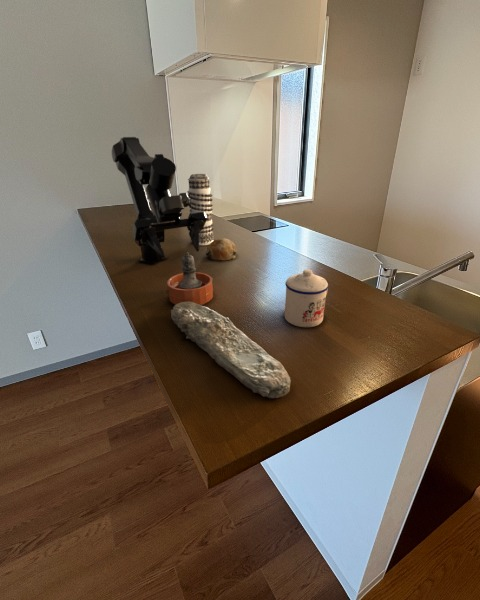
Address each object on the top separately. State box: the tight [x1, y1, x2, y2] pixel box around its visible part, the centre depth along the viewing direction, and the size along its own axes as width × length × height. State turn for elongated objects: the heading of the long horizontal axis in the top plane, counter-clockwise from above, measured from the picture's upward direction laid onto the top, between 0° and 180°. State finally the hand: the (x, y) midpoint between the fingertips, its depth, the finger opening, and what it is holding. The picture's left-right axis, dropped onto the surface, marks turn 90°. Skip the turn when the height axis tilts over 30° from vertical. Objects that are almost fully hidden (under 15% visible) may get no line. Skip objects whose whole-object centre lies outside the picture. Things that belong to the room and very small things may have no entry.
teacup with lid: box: [284, 268, 329, 328], centre depth 71 cm, size 12×9×12 cm
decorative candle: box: [186, 173, 215, 246], centre depth 120 cm, size 9×9×25 cm
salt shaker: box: [178, 251, 202, 289], centre depth 79 cm, size 6×6×12 cm
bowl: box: [166, 271, 214, 306], centre depth 81 cm, size 11×11×5 cm
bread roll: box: [205, 237, 237, 262], centre depth 109 cm, size 10×10×8 cm
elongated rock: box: [170, 302, 292, 399], centre depth 62 cm, size 35×5×10 cm
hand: (181, 253), depth 80 cm, fingers open, 9 cm apart
